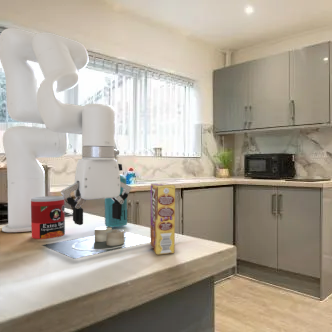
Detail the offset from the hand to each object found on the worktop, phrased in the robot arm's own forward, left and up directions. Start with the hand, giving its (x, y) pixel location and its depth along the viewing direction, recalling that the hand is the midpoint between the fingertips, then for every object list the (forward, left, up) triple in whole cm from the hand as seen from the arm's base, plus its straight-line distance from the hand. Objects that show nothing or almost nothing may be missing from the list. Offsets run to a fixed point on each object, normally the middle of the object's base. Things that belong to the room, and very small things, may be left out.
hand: (98, 221), depth 83 cm
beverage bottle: (-11, +11, -6) cm, 17 cm away
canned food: (-15, -6, -6) cm, 17 cm away
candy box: (+19, +6, -6) cm, 20 cm away
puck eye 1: (+2, 0, -5) cm, 5 cm away
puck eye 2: (+8, 0, -5) cm, 9 cm away
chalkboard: (+4, -1, -5) cm, 7 cm away
